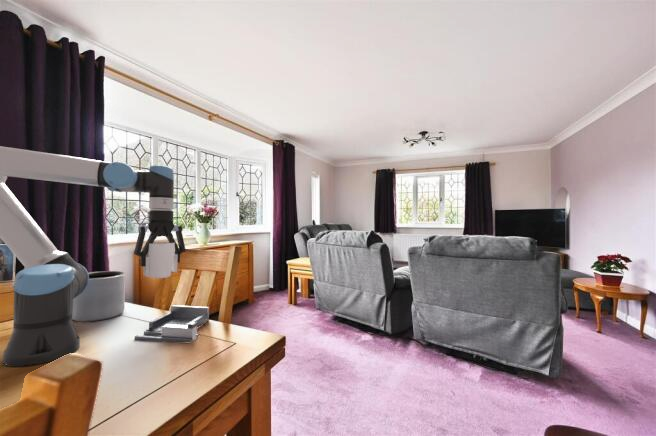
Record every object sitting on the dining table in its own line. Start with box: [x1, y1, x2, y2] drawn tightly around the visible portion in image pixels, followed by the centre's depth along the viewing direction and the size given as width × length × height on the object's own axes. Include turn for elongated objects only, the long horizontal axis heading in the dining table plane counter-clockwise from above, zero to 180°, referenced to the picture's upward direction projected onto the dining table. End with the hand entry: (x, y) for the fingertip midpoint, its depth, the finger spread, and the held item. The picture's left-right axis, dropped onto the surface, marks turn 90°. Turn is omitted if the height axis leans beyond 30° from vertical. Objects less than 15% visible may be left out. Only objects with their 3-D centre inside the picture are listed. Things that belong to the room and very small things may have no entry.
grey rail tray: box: [145, 304, 210, 332], centre depth 103 cm, size 14×14×5 cm
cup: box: [146, 241, 176, 279], centre depth 105 cm, size 9×9×12 cm
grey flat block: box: [161, 322, 198, 342], centre depth 93 cm, size 10×2×5 cm, turn 84°
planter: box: [72, 270, 126, 323], centre depth 112 cm, size 16×16×16 cm
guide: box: [134, 330, 200, 343], centre depth 93 cm, size 18×5×1 cm, turn 84°
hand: (160, 273), depth 105 cm, fingers closed on cup, 9 cm apart
